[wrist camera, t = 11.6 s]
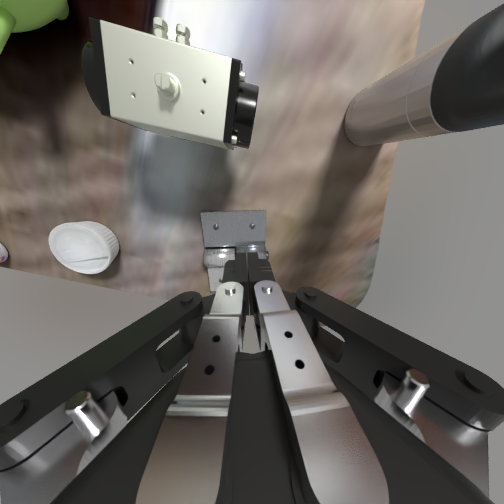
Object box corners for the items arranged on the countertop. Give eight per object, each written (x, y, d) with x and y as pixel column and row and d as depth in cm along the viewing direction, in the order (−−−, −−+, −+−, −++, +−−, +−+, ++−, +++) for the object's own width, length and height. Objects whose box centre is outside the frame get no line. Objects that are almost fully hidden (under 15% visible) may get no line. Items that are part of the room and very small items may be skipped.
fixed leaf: (268, 209, 40) (270, 214, 37) (266, 258, 46) (268, 266, 42) (201, 211, 40) (197, 215, 36) (207, 261, 45) (205, 269, 41)
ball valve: (254, 101, 32) (268, 36, 16) (246, 155, 35) (250, 146, 19) (146, 73, 30) (35, -36, 14) (148, 133, 33) (62, 104, 17)
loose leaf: (264, 244, 44) (266, 251, 40) (263, 286, 49) (265, 296, 45) (205, 246, 43) (202, 253, 39) (211, 288, 48) (209, 298, 45)
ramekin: (107, 271, 45) (91, 283, 40) (60, 239, 41) (36, 249, 36) (134, 243, 42) (121, 252, 37) (87, 206, 38) (65, 211, 33)
